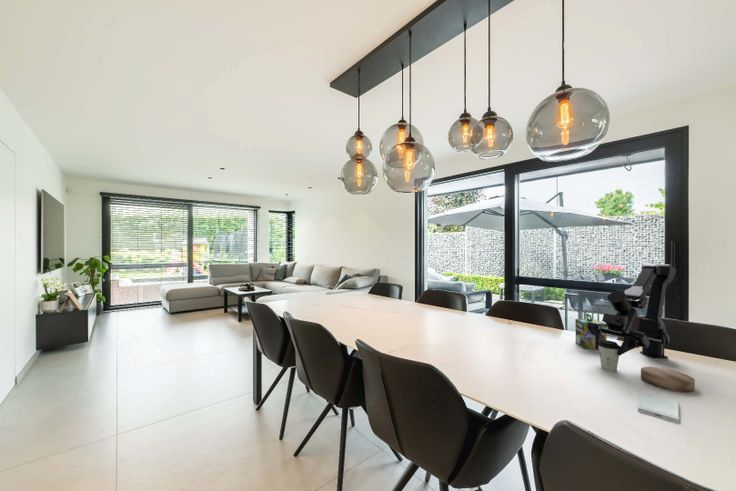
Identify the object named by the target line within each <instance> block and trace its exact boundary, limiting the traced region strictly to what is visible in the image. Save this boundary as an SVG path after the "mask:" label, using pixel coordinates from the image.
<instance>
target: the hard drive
mask: <svg viewBox="0 0 736 491" xmlns="http://www.w3.org/2000/svg"><path fill="white" fill-rule="evenodd" d="M637 412H640V413H643V414H646V415H650V416H653V417H656V418H660V419H663V420H667V421H671V422H673V423H676V424H680V403H679V402H678V401H677V400H676V401H675V400H673V399H672V400H671V399H667V398H663V397H659V396H657V395H656V396H654V395H652V394H649V393H643V392H642V393H641V394H640V398H639V402H638V407H637Z"/></svg>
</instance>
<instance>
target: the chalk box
mask: <svg viewBox="0 0 736 491" xmlns="http://www.w3.org/2000/svg"><path fill="white" fill-rule="evenodd" d="M584 314H585V317H586V318H575V343H576V344H577V345H579V346H580V347H582V348H583V349H587V350H588V349H592V350H599V348H598V349H596V348H595V335H592V334H591V333H590V331H589V330H588V328H587V327H586V325H587V323H588V322H594V323H599V324H600V325H601V327H602V328H606V329H607V327H606V325H605V324H606V323H605V322H603V321H600V320H597V319H593V318H592V315H591V314H589V313H587V312H585V313H584ZM603 336H604V338H605V340H607V338H608V337H607V334H605V333H604V335H603Z"/></svg>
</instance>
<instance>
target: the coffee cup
mask: <svg viewBox="0 0 736 491" xmlns="http://www.w3.org/2000/svg"><path fill="white" fill-rule="evenodd" d="M598 346H599V349H598V353H599V359H600V366H601V367H600V368H601V369H603V370H606V371H609V372H617V370H618V364H619V360H620V359H619V357H620V356H618V354H617V353H618V350H619V348H620V347H621V345H619V344H618V342H616V341H614V340H613V341H612V340H601V341H600V342H599V343H598Z"/></svg>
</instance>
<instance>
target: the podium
mask: <svg viewBox="0 0 736 491" xmlns="http://www.w3.org/2000/svg"><path fill="white" fill-rule="evenodd" d="M640 380H642V381H643V382H644V383H647V385H651V386H654V387H657V388H659V389H662V390H666V391H671V392H677V393H692V392H694V391H695V390H696V388H695V385H696V384H695V382H696V380H695V378H693V377H692V376H690V375H688V374H686V373H684V372H681V371H677V370H674V369H669V368H665V367H658V366H642V367H641V368H640Z"/></svg>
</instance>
